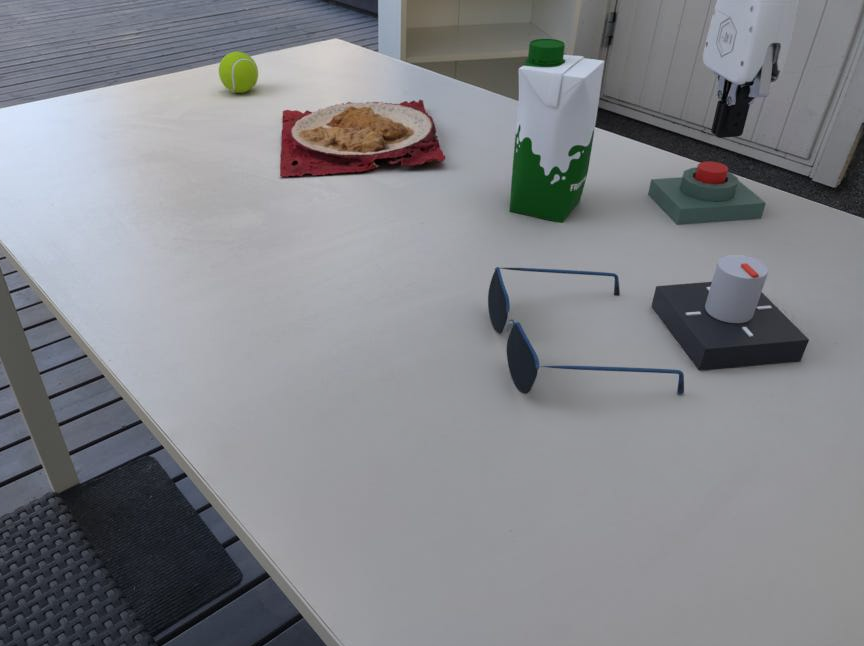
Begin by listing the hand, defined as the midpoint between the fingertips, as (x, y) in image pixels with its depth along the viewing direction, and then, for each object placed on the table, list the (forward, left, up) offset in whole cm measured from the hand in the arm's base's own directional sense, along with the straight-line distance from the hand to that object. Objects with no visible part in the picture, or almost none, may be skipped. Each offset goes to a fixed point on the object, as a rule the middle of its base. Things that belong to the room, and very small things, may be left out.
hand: (726, 134), depth 90 cm
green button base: (0, 0, -10) cm, 10 cm away
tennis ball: (+61, -58, -10) cm, 85 cm away
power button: (0, 0, -6) cm, 6 cm away
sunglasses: (+26, +27, -10) cm, 39 cm away
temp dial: (+11, +27, -7) cm, 30 cm away
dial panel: (+11, +27, -10) cm, 31 cm away
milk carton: (+20, -3, -10) cm, 23 cm away
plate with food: (+42, -30, -10) cm, 53 cm away
